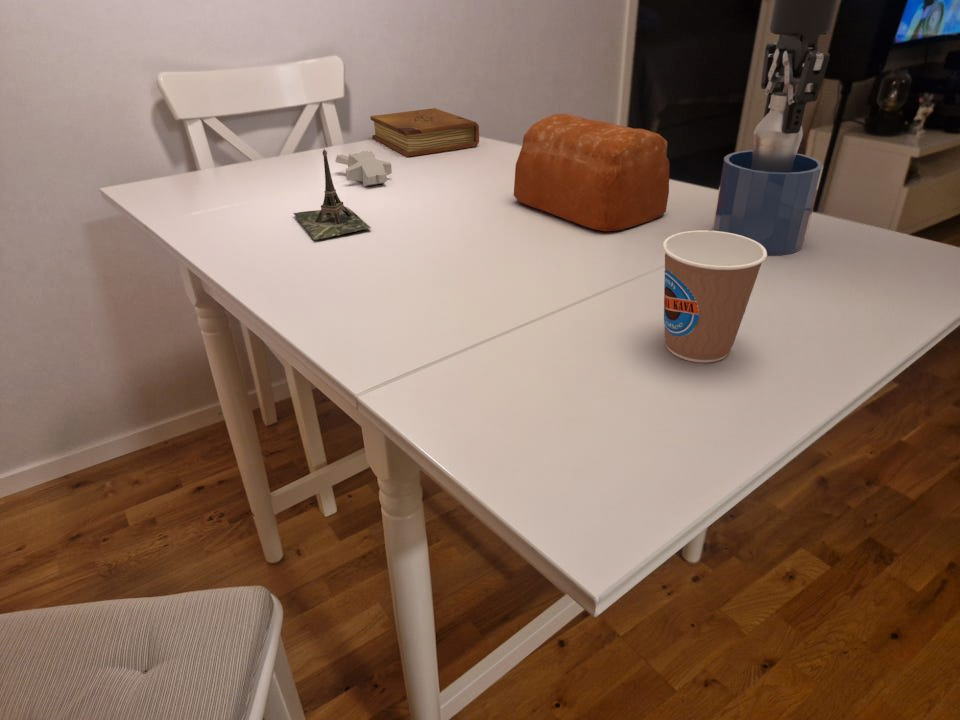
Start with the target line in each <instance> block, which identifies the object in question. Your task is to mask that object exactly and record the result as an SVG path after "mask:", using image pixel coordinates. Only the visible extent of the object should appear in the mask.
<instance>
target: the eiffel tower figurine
mask: <svg viewBox="0 0 960 720" xmlns="http://www.w3.org/2000/svg"><path fill="white" fill-rule="evenodd" d="M322 146H323V147H325V143H322ZM321 153H322V156H323V167H324V183H325V185H324V187H325V188H324V191H323V192H324V198H323V201H322V202H323V203H322V204H321V205H320V209H318V210H307V211H299V212H293V215H294V216H295V217H296V219H297V220H298V221H299V223H301V225H302V226H303V228H304V229H305V230H306V231H307V232H308V234H309V235H310V237H311V238H312V239H313V241H316V240H322V239H327V238H332V237H337V236H341V235H345V234H350V233H353V232H358V231H362V230H366V229H372V227H371V226H370V224H367V223H366V222H365V221H364V220H363V219H362V218H361V217H360V216H359V215H358V214H356V213H355V212H354V211H353V210H352V209H350V208H349V207H348V206H345V205H344V201H342V200H341V199H340V197H339V195H338V194H337V189H336V188H335V186H334V182H333V179H332V173H331V169H330V165H329V160H328V152H327V150H326V149H325V148H323V150H322V152H321Z"/></svg>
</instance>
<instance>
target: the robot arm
mask: <svg viewBox="0 0 960 720" xmlns="http://www.w3.org/2000/svg"><path fill="white" fill-rule="evenodd" d="M838 2H839V0H774V3H773V8H772V15H771V20H770V25H769V31H770V33H772V34H773V35H779V36H778V40H777V41H776V42H773V43H766V45H765V48H764V56H763V66H762V72H761V80H760V81H761V83H760V88H761V90H765V91H764V94H765V96H767V97H766V100H765V107H764V112H763V117H762V119H763V118H764V117H765V116H766V115H767V114H768V113H769V112H770V108H769V104H770V101H771V96H772V94H773V93H777V92H788V104H787V108H786V113H785V118H784V123H783V128H782V131H783V132H784V133H786V134H790V133H798V132H799V131H800V128H801V126H802V123H803V118H804V114H805V109H806V106H807V105H809V104H810V103H812V102H816V101H818V97H819V94H820V91H821V89H822V84H823V81H824V78H825V75H826V72H827V68H828V65H829V62H830V57H831V55H830V52H820V51H819V38H820V37H821V36H823V35H827V34H829V33H830V32H831V31H832V29H833V24H834V20H835V16H836V12H837V11H836V10H837V6H838ZM811 86H812V88H811Z"/></svg>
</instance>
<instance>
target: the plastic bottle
mask: <svg viewBox="0 0 960 720" xmlns="http://www.w3.org/2000/svg"><path fill="white" fill-rule="evenodd" d="M787 104H788V91H786V92H777V93H773V94H772V96H771V101H770V104H769V108H770V112H769V113H768V114H767V115H766V116H765V117H764V116H763V117H764V118H763V117H762V119H761V120H759V121H760V122H758V124H756V126H755V128H754V131H753V133H752V134H753V135H752V150H753V156H752V166H751V169H752V170H757V171H765V172H781V173H790V172H791V170H792V167H793V163H794V159H795V157H796V154H798V151H799V148H800V146H801V142H802V139H803V136H804V130H803V126H802V125H801V128H800V131H799V132H798V133H790V134H786V133H784V132H783V131H782V128H783V123H784V118H785V113H786V108H787Z"/></svg>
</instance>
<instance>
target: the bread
mask: <svg viewBox="0 0 960 720" xmlns="http://www.w3.org/2000/svg"><path fill="white" fill-rule="evenodd" d="M667 153H668V141H667V140H666V139H665V138H664V137H663V136H662V135H661V134H659V133H657V132H653V131H651V130H648V129H644V128H632V127H630V126H629V127H628V126H625V125H624V126H623V125H620V124H615V123H612V122H606V121H602V120H595V119H588V118H586V117H582V116H577V115H573V114H569V113H554V114H552V115H549V116H546V117H544V118H541V119H540V120H538V121H536V122H535V123H533V124H532V125H531V126H530V128H529V129H528V130H527V131H526V132H525V133H524V134H523V137H522V145H521V148H520V150H519V154H518V157H517V160H516V162H515V169H514V170H515V171H514V184H513V196H514V198H515V199H516V200H517V201H518V202H519V203H521V204H524V205H526V206H529V207H531V208H533V209H536V210H540V211H543V212H546V213H548V214H551V215H553V216H556V217H559V218H562V219H564V220H566V221H568V222H572V223H575V224H577V225H580V226H582V227H585V228H588V229H591V230H596V231H602V232H613V231H614V232H615V231H622V230H625V229H629V228H632V227H637V226H639V225H643V224H645V223H648V222H650V221H653V220H656V219H658V218H660V217H662V216H663V215H664V214H665V213H666V211H667V206H668V201H669V194H670V160H669V158H668V157H667Z"/></svg>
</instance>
